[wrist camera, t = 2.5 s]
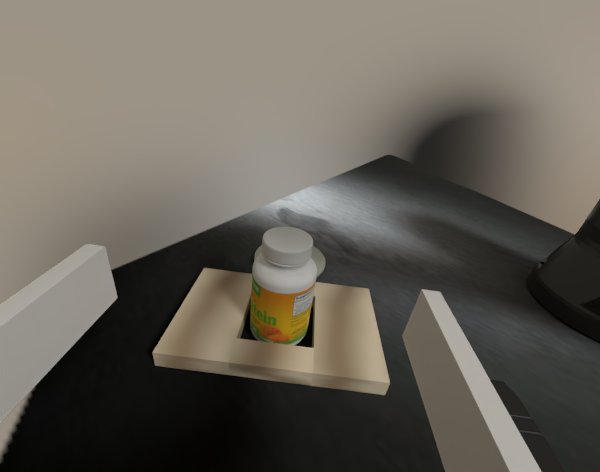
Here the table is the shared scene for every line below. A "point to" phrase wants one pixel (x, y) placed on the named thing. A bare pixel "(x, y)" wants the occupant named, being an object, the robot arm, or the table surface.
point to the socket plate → (272, 356)
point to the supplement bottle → (283, 286)
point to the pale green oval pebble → (315, 256)
